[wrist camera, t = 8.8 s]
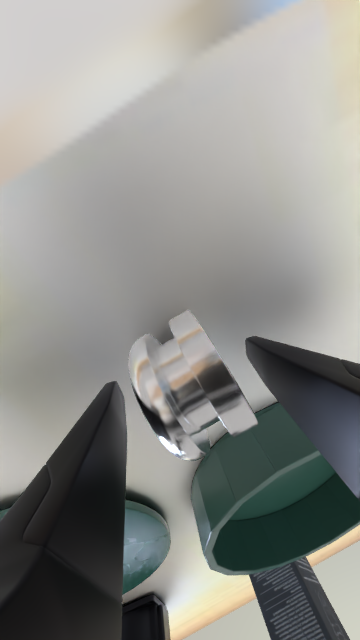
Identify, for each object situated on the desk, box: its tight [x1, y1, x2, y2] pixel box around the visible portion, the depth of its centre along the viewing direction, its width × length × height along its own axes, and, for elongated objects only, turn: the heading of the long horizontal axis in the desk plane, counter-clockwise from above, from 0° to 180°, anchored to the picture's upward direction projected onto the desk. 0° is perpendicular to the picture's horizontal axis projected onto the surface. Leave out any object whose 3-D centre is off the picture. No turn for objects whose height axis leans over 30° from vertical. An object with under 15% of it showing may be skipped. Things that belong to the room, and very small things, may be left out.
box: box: [249, 556, 350, 640], centre depth 21 cm, size 8×6×11 cm
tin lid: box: [0, 500, 170, 595], centre depth 13 cm, size 17×17×6 cm
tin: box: [191, 402, 360, 575], centre depth 16 cm, size 16×16×4 cm
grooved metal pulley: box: [128, 310, 259, 461], centre depth 8 cm, size 5×3×5 cm, turn 27°
